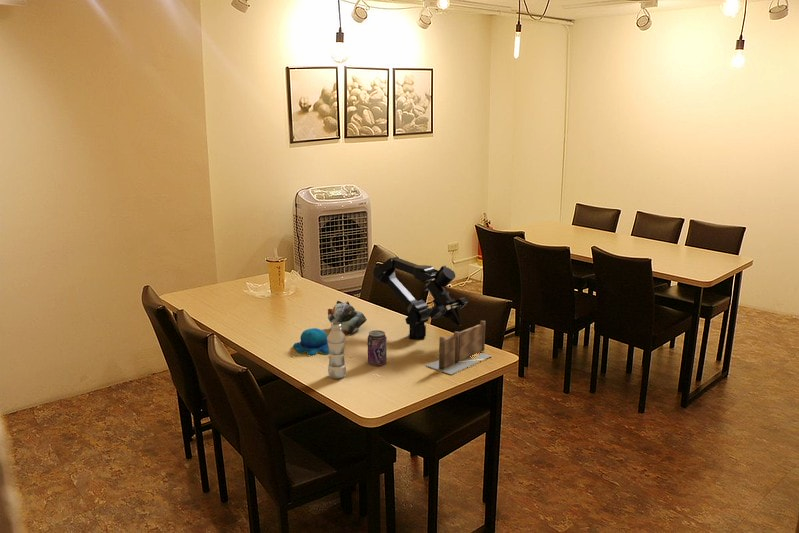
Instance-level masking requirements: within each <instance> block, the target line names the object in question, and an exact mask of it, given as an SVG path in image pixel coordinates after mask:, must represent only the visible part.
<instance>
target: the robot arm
mask: <svg viewBox="0 0 799 533" xmlns="http://www.w3.org/2000/svg"><path fill="white" fill-rule="evenodd" d="M397 270H399V271H401V272H404V273H406V274H409V275H412V276H413V278H414V279H416V280H417V281H419V282H421V283H424V284H423V285H424V286H423V292H425V291H428V292H429V294H430V295H431V296H432V297H433V300H432V302H433V306H431V307H429V304H427V303H426V302H425V300H423V299H421V300H418V299H416V298H415V297H414V296H413V295H412V293H411V292H410V291H409V290H408V289H407V288H406V287H405V286H404V285H403V283H402V282H400V281H399V279H398V278H397V276H396V272H395V271H397ZM372 273H373V277H374V278H375V279H376V280H377V281H378V282H380V283H383V284H385V285H386V286H387V287H388V288H389V289H390V290H391V292H393V293H394V294H395V296H396V297H397V298H398V299H399V301H401V303H403V304H404V306H405V307H406V308H407V313H408V316H407V317H406V318H404V320H405V323H406V325H409V326H408V328H409V332H408V333H409V334H408V339H409V340H425V337H426V336H427V325H426V324H425V323H427V322H428V321H429V319H431V320H434V319H435V320H437V319H438V318H446V319H449V320H450V321H452V323H453V324H455V325H456V326H458V327H460V326H462V318H461V311H460V310H462V308H464V306H466V305H467V304H468V303H469V300H468V299H467V298H466V297H460V298H458V299H456V300H455V298H451V296H450V295H449V294H450V291H449V290H446V289H445V288H446V287H448V286H449V285H450V283H452V282H453V280H455V279H456V273H455V272H454V270H452V269H451V268H449V267H447V266H446V265H442V266H441V267H440V268H439V270H438V269H436V268H435V267H434V266H431V265H425V264H423V265H422V264H421V265H420V264H416V263H414V262H411V261H407V260H406V259H405V260H404V259H402V258H400V257H398V256H393V257H390V258H388V259H387V260H386V261H384V262H382V263H381V264H379V265H377V266H374V268H373V272H372ZM426 282H428V283H426Z"/></svg>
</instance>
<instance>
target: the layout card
mask: <svg viewBox="0 0 799 533" xmlns="http://www.w3.org/2000/svg"><path fill="white" fill-rule="evenodd" d="M482 353H483V354H482ZM477 354H478V353H477ZM491 356H492V355H490V354H487V353H484V352H481V354H480V353H479V357H478V358H479V359H478V358H477V357H476V356H475V357H476V358H477V359H476V358H475V357H474V356H473V357H474V358H475V359H476V360H477V361H476V360H475V359H474V358H473V357H472V356H471V357H472V358H473V359H474V360H473V359H472V358H471V357H467V358H465V359H463V360H460V361H458V363H455V364H453V365H451V366H448V367H446V368H444V369H443V370H441V369H439V359H437V360H436V361H433V362H431V363H428V364H427V365H426V367H427V368H429V369H432V370H436V371H438V372H440V371H441V373H443V372H444V373H443V374H446V373H447V374H446V375H449V374H450V375H449V376H453V375H455V373H456V374H457V372H458V373H459V371H460V372H462V371H464V370H466V369H465V368H467V367H469V366H471V367H473V366H474V364H475V365H477V364H479V363H478V362H480V361H482V360H484V359H486V360H488V359H490V358H489V357H491ZM487 358H488V359H487ZM491 358H492V357H491ZM478 360H479V361H478ZM484 361H485V360H484ZM482 362H483V361H482ZM476 363H477V364H476ZM480 363H481V362H480ZM472 365H473V366H472ZM469 368H470V367H469ZM463 369H464V370H463ZM467 369H468V368H467ZM461 370H462V371H461Z"/></svg>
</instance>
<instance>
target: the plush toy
mask: <svg viewBox="0 0 799 533" xmlns="http://www.w3.org/2000/svg"><path fill="white" fill-rule="evenodd" d="M327 337H328V334H327V332H326V331H325V330H323V329H320V328H317V327H311V328H308V329H305V330H304V331H302V333H301V335H300V341H298V342H294V344H293V346H292V349H293V348H296V349H295V353H296V354H297V353H298V354H297V355H303V354H306V353H308V354H307V356H308V355H310V356H309V357H313V355H314V356H316V355H317V354H318V353H320V354H321V355H329V347H328V341H327ZM302 353H303V354H302Z"/></svg>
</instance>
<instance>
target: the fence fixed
mask: <svg viewBox="0 0 799 533" xmlns="http://www.w3.org/2000/svg"><path fill="white" fill-rule="evenodd" d="M459 332H460V331H456V330H455V331H453V334H452V335H449V336H447V337H445V336H440V337H439V343H438V344H439V347H438V348H439V351H438V352H439V353H438V360H439V369H441V370H443V369H444V368H446V367H448V366H451V365H453V364H455V363H458V358H459Z"/></svg>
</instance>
